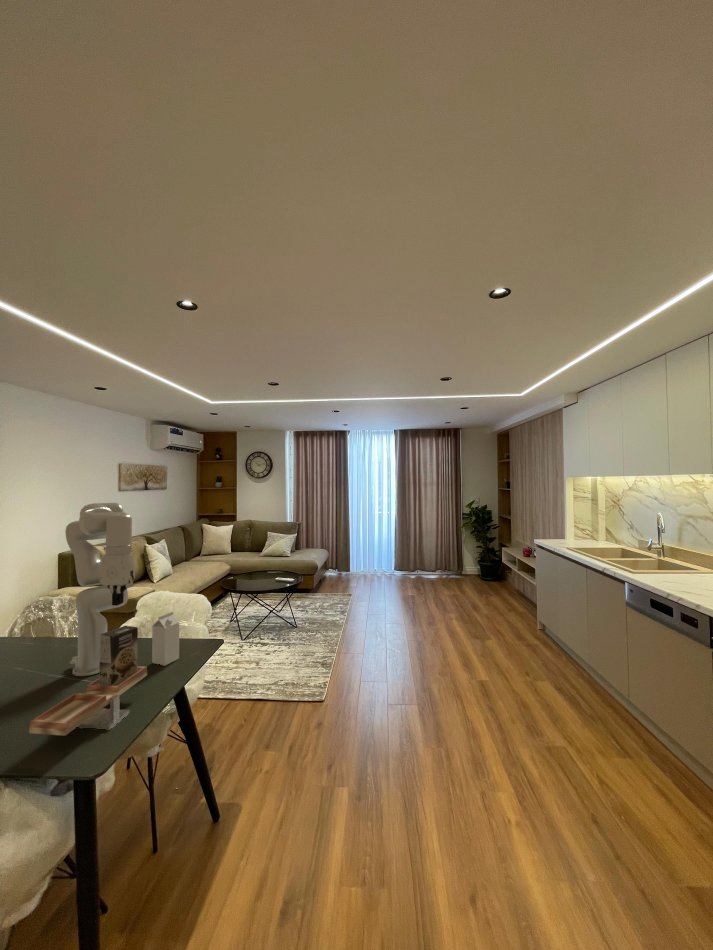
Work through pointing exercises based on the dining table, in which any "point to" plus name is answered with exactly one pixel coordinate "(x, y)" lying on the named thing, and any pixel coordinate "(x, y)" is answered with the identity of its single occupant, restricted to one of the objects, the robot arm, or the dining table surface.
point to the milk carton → (165, 639)
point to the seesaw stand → (106, 716)
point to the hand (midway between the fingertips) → (117, 604)
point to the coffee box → (118, 655)
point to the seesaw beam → (81, 706)
